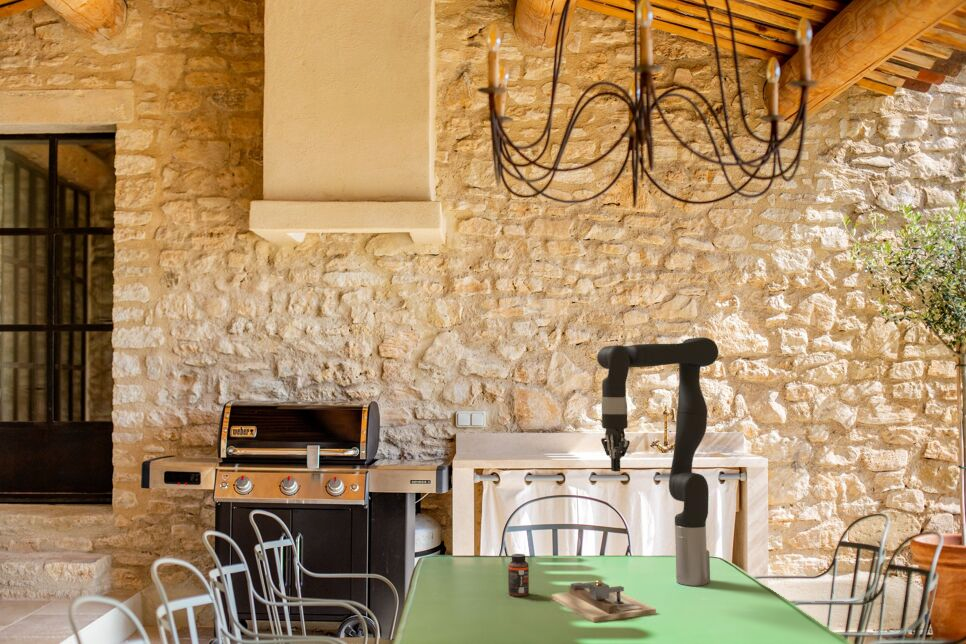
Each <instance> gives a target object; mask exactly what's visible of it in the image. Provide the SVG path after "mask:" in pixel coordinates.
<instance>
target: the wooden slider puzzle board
mask: <svg viewBox="0 0 966 644" xmlns="http://www.w3.org/2000/svg"><path fill="white" fill-rule="evenodd" d="M550 598H551V600H553V601H554V602H557V603H558V604H560V605H562V606H563V607H565V608H567V609H569V610H570V611H572V612H574V613H576V614H578V615H579V616H581V617H583V618H584V619H587V620H588V621H590V622H592V623H596V622H604V621H605V622H606V620H607V621H611V620H612V621H613V620H619V619H627V618H634V617H641V616H648V615H656V614H657V609H656V608H654V607H653V606H650V605H648V604H646V603H643V602H641V601H639V600H637V599H635V598H633V597H631V596H628V595H626V594H624V593H622V592H620V600H621V602H617V592H613V593H609V599H603V600H595V599H593V598H591V597H589V589H586V588H585V589H579V590H574V589H572V588H571V585H569V586H568V592H562V593H554V594H551V595H550Z"/></svg>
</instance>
